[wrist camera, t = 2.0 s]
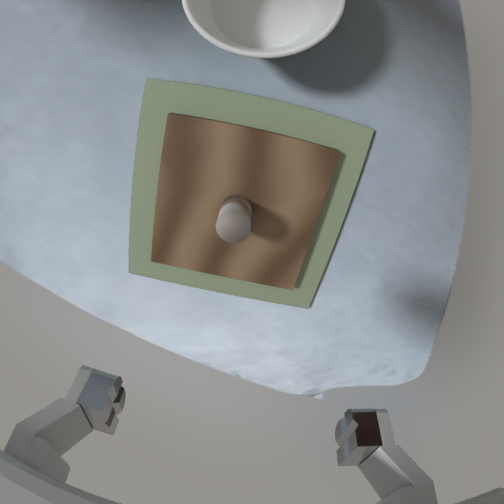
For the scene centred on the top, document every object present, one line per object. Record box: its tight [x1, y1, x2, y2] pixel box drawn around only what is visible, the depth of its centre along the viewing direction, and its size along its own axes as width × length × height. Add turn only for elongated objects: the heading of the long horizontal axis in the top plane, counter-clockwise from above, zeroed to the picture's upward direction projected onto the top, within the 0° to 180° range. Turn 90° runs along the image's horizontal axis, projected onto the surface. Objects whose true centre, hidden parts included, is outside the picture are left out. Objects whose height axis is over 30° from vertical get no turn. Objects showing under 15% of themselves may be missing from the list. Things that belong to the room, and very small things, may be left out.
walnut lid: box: [151, 113, 340, 290], centre depth 29 cm, size 16×16×5 cm
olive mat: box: [129, 79, 374, 309], centre depth 32 cm, size 22×22×1 cm
